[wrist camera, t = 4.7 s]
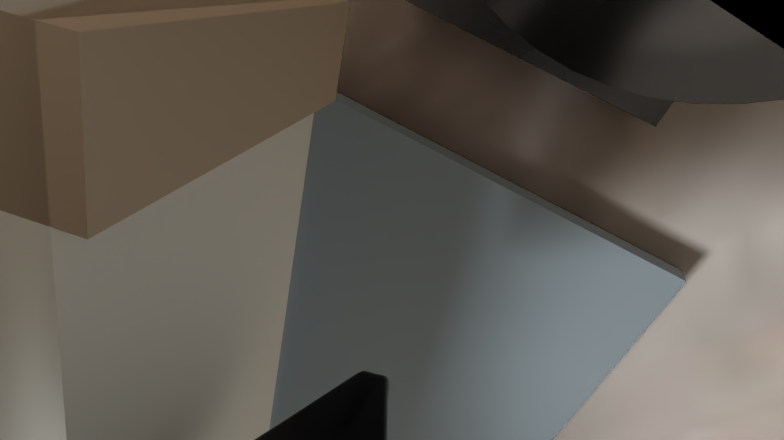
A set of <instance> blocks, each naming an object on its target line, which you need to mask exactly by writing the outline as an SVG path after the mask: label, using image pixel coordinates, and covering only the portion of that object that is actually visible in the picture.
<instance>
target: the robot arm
mask: <svg viewBox="0 0 784 440" xmlns="http://www.w3.org/2000/svg"><path fill="white" fill-rule="evenodd" d="M388 393H389V380H388V378H387V377H386V376H384V375H380V374H376V373H372V372H368V371H361V372H358V373H357V374H355V375H354V376H352V377H350V378H349V379H347V380H346V381H344V382H343V383H341V384H340V385H338V386H337V387H335V388H333V389H332V390H330V391H329V392H327V393H326V394H324V395H323V396H321V397H319V398H318V399H316V400H315V401H313V402H312V403H310V404H309V405H307V406H306V407H304V408H302V409H301V410H299V411H298V412H296V413H295V414H293V415H292V416H290V417H288V418H287V419H285V420H284V421H282V422H281V423H279V424H278V425H276V426H275V427H273V428H271V429H270V430H268V431H267V432H265V433H264V434H262V435H261V436H259V437H257V438H256V439H254V440H387V419H388Z"/></svg>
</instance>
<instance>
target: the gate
mask: <svg viewBox="0 0 784 440" xmlns="http://www.w3.org/2000/svg"><path fill="white" fill-rule="evenodd" d="M350 3H351V2H348V1H344V0H0V440H254V439H256V438H257V437H259V436H261V435H262V434H264V433H265V432H267V431H268V430H269V428H270V420H271V413H272V406H273V399H274V392H275V385H276V378H277V371H278V364H279V357H280V350H281V343H282V336H283V329H284V322H285V314H286V307H287V300H288V293H289V286H290V279H291V272H292V265H293V258H294V251H295V244H296V237H297V230H298V223H299V216H300V209H301V201H302V194H303V187H304V180H305V173H306V166H307V159H308V152H309V145H310V138H311V131H312V124H313V117H314V112H316V111H318V110H320V109H322V108H323V107H325V106H327V105H329V104H331V103H332V102H334V101H335V99H336V93H337V86H338V80H339V74H340V67H341V61H342V54H343V48H344V42H345V35H346V29H347V23H348V16H349V10H350Z"/></svg>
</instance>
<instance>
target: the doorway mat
mask: <svg viewBox="0 0 784 440" xmlns="http://www.w3.org/2000/svg"><path fill="white" fill-rule="evenodd" d="M685 282H686V280H685V278H684V275H683V273H682V271H681V270H680V269H678V268H676V267H674V266H672V265H670V264H668V263H666V262H665V261H663V260H661V259H659V258H657V257H655V256H653V255H651V254H649V253H647V252H645V251H643V250H641V249H639V248H637V247H636V246H634V245H632V244H630V243H628V242H626V241H624V240H622V239H620V238H618V237H616V236H614V235H612V234H610V233H608V232H607V231H605V230H603V229H601V228H599V227H597V226H595V225H593V224H591V223H589V222H587V221H585V220H583V219H581V218H579V217H578V216H576V215H574V214H572V213H570V212H568V211H566V210H564V209H562V208H560V207H558V206H556V205H554V204H552V203H550V202H549V201H547V200H545V199H543V198H541V197H539V196H537V195H535V194H533V193H531V192H529V191H527V190H525V189H523V188H521V187H520V186H518V185H516V184H514V183H512V182H510V181H508V180H506V179H504V178H502V177H500V176H498V175H496V174H494V173H492V172H491V171H489V170H487V169H485V168H483V167H481V166H479V165H477V164H475V163H473V162H471V161H469V160H467V159H465V158H464V157H462V156H460V155H458V154H456V153H454V152H452V151H450V150H448V149H446V148H444V147H442V146H440V145H438V144H436V143H435V142H433V141H431V140H429V139H427V138H425V137H423V136H421V135H419V134H417V133H415V132H413V131H411V130H409V129H407V128H406V127H404V126H402V125H400V124H398V123H396V122H394V121H392V120H390V119H388V118H386V117H384V116H382V115H380V114H378V113H377V112H375V111H373V110H371V109H369V108H367V107H365V106H363V105H361V104H359V103H357V102H355V101H353V100H351V99H349V98H348V97H346V96H344V95H342V94H340V93H338V92H337V93H336V99H335V101H334V102H332V103H331V104H329V105H327V106H325V107H323V108H322V109H320V110H318V111H316V112H314V117H313V124H312V131H311V138H310V145H309V152H308V159H307V166H306V173H305V180H304V187H303V194H302V201H301V209H300V216H299V223H298V230H297V237H296V244H295V251H294V258H293V265H292V272H291V279H290V286H289V293H288V300H287V307H286V314H285V322H284V329H283V336H282V343H281V350H280V357H279V364H278V371H277V378H276V385H275V392H274V399H273V406H272V413H271V420H270V428H269V430H270V429H271V428H273V427H275V426H276V425H278V424H279V423H281V422H282V421H284V420H285V419H287V418H288V417H290V416H292V415H293V414H295V413H296V412H298V411H299V410H301V409H302V408H304V407H306V406H307V405H309V404H310V403H312V402H313V401H315V400H316V399H318V398H319V397H321V396H323V395H324V394H326V393H327V392H329V391H330V390H332V389H333V388H335V387H337V386H338V385H340V384H341V383H343V382H344V381H346V380H347V379H349V378H350V377H352V376H354V375H355V374H357V373H358V372H361V371H368V372H372V373H376V374H380V375H384V376H386V377H387V378H388V380H389V393H388V419H387V440H552V439H553V438H554V437H555V436H556V435H557V433H558V432H559V431H560V430H561V429H562V428H563V426H564V425H565V424H566V423H567V422H568V420H569V419H570V418H571V417H572V416H573V415H574V413H575V412H576V411H577V410H578V409H579V407H580V406H581V405H582V404H583V403H584V402H585V400H586V399H587V398H588V397H589V396H590V394H591V393H592V392H593V391H594V390H595V389H596V387H597V386H598V385H599V384H600V383H601V381H602V380H603V379H604V378H605V377H606V376H607V374H608V373H609V372H610V371H611V370H612V368H613V367H614V366H615V365H616V364H617V363H618V361H619V360H620V359H621V358H622V357H623V355H624V354H625V353H626V352H627V351H628V350H629V348H630V347H631V346H632V345H633V344H634V342H635V341H636V340H637V339H638V338H639V337H640V335H641V334H642V333H643V332H644V331H645V329H646V328H647V327H648V326H649V325H650V323H651V322H652V321H653V320H654V319H655V318H656V316H657V315H658V314H659V313H660V312H661V310H662V309H663V308H664V307H665V306H666V305H667V303H668V302H669V301H670V300H671V299H672V297H673V296H674V295H675V294H676V293H677V292H678V290H679V289H680V288H681V287H682V286H683V284H684V283H685Z"/></svg>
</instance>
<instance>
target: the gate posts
mask: <svg viewBox="0 0 784 440" xmlns="http://www.w3.org/2000/svg"><path fill="white" fill-rule="evenodd" d="M406 1H408V2H410V3H412V4H413V5H415V6H417V7H419V8H421V9H423V10H425V11H427V12H429V13H431V14H433V15H435V16H437V17H439V18H441V19H443V20H445V21H447V22H449V23H451V24H453V25H455V26H457V27H459V28H461V29H463V30H465V31H467V32H469V33H471V34H473V35H475V36H477V37H479V38H481V39H483V40H485V41H487V42H489V43H491V44H493V45H495V46H497V47H499V48H501V49H503V50H505V51H507V52H509V53H511V54H513V55H515V56H517V57H519V58H521V59H523V60H525V61H527V62H528V63H530V64H532V65H534V66H536V67H538V68H540V69H542V70H544V71H546V72H548V73H550V74H552V75H554V76H556V77H558V78H560V79H562V80H564V81H566V82H568V83H570V84H572V85H574V86H576V87H578V88H580V89H582V90H584V91H586V92H588V93H590V94H592V95H594V96H596V97H598V98H600V99H602V100H604V101H606V102H608V103H610V104H612V105H614V106H616V107H618V108H620V109H622V110H624V111H626V112H628V113H630V114H632V115H634V116H636V117H638V118H640V119H641V120H643V121H645V122H647V123H649V124H651V125H653V126H655V127H656V126H657V124H658V123H659V121H660V120H661V118H662V117H663V115H664V114H665V113H666V111H667V110H668V108H669V107H670V105H671V104H672V103H673V101H680V102H687V103H705V104H744V103H754V102H763V101H773V100H783V99H784V0H406Z"/></svg>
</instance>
